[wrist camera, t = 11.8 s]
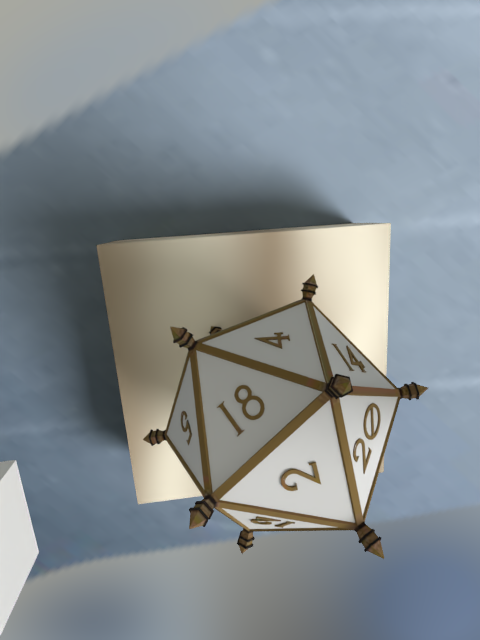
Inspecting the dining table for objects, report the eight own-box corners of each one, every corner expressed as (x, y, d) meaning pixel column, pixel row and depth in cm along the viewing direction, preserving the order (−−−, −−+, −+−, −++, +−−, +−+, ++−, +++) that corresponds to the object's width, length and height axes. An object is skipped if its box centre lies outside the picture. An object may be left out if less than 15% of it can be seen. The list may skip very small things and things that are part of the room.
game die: (244, 309, 20) (331, 172, 11) (361, 432, 19) (559, 389, 10) (99, 431, 16) (56, 370, 7) (237, 592, 15) (384, 749, 6)
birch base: (148, 454, 22) (138, 504, 18) (117, 240, 19) (96, 245, 15) (352, 430, 23) (383, 471, 19) (353, 223, 20) (390, 223, 16)
